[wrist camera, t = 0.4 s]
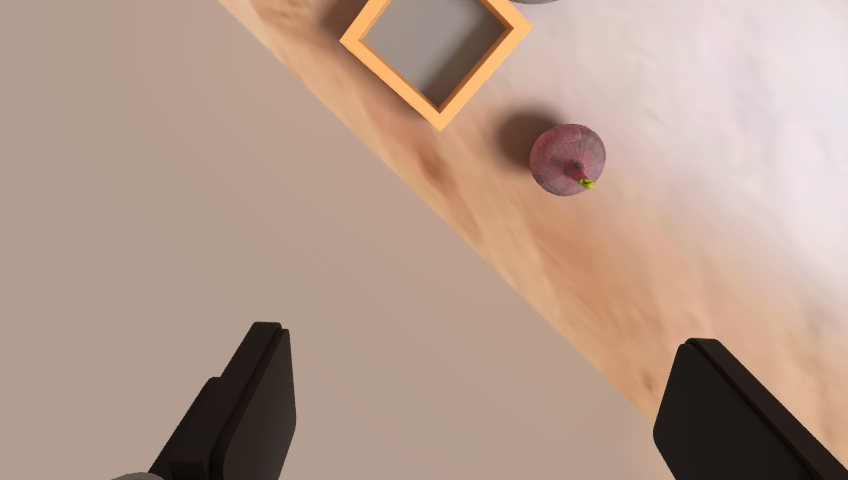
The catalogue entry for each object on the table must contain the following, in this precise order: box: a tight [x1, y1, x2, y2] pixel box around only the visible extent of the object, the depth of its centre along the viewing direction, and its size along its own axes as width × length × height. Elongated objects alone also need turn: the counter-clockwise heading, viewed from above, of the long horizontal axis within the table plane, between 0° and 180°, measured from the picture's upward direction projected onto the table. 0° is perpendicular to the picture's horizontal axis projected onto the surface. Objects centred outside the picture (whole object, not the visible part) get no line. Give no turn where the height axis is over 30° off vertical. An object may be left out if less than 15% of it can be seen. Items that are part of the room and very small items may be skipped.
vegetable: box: [529, 124, 606, 196], centre depth 39 cm, size 6×6×10 cm
